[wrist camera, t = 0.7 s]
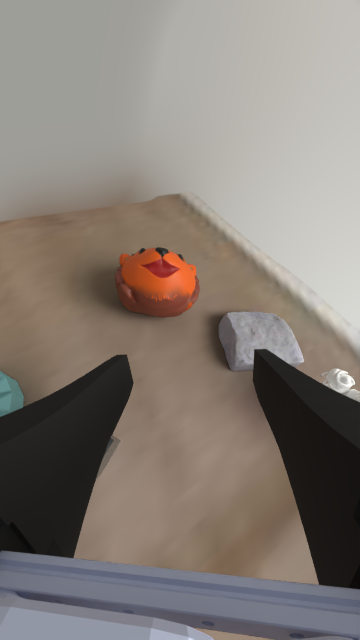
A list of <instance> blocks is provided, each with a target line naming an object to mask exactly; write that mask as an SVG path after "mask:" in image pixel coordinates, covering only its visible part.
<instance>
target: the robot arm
mask: <svg viewBox="0 0 360 640" xmlns="http://www.w3.org/2000/svg"><path fill="white" fill-rule="evenodd" d="M253 382H254V386H255V390H256V393H257V396H258V399H259V402H260V404H261V406H262V409H263V411H264V413H265V416H266V418H267V420H268V423H269V425H270V427H271V430H272V432H273V434H274V437H275V439H276V442H277V444H278V447H279V449H280V452H281V455H282V459H283V462H284V465H285V468H286V471H287V474H288V477H289V481H290V484H291V487H292V490H293V493H294V497H295V500H296V503H297V507H298V510H299V514H300V517H301V521H302V524H303V527H304V531H305V534H306V538H307V542H308V545H309V549H310V552H311V556H312V560H313V563H314V567H315V571H316V574H317V578H318V582H319V585H315V584H305V583H296V582H287V581H278V580H268V579H259V578H250V577H241V576H232V575H222V574H213V573H204V572H195V571H186V570H176V569H167V568H158V567H149V566H140V565H130V564H121V563H112V562H103V561H94V560H84V559H75V558H73V557H74V553H75V549H76V546H77V542H78V538H79V535H80V531H81V527H82V524H83V520H84V516H85V513H86V510H87V506H88V503H89V500H90V496H91V493H92V490H93V487H94V484H95V481H96V477H97V474H98V471H99V468H100V465H101V462H102V460H103V457H104V454H105V451H106V448H107V446H108V443H109V441H110V438H111V436H112V434H113V432H114V430H115V427H116V425H117V423H118V421H119V419H120V417H121V415H122V412H123V410H124V408H125V406H126V404H127V401H128V399H129V396H130V393H131V390H132V386H133V379H132V375H131V370H130V366H129V362H128V358H127V355H116V356H114V357H112V358H111V359H109V360H107V361H106V362H104V363H103V364H101V365H100V366H98V367H96V368H95V369H93V370H92V371H90V372H89V373H87V374H86V375H84V376H82V377H81V378H79V379H77V380H76V381H74V382H72V383H71V384H69V385H67V386H66V387H64V388H62V389H60V390H58V391H56V392H55V393H53V394H51V395H49V396H47V397H45V398H43V399H41V400H38V401H36V402H34V403H32V404H29V405H27V406H25V407H23V408H21V409H18V410H16V411H13V412H11V413H8V414H6V415H3V416H1V417H0V640H214V639H213V638H212V637H211V636H209V635H207V634H205V633H202V632H200V631H198V630H196V629H194V628H201V629H208V630H215V631H222V632H229V633H235V634H242V635H249V636H256V637H263V638H269V639H276V640H360V402H358V401H356V400H354V399H352V398H349V397H347V396H345V395H343V394H341V393H339V392H337V391H335V390H333V389H331V388H329V387H327V386H325V385H323V384H321V383H319V382H318V381H316V380H314V379H312V378H311V377H309V376H307V375H306V374H304V373H302V372H301V371H299V370H297V369H296V368H294V367H293V366H291V365H290V364H288V363H287V362H285V361H284V360H282V359H281V358H279V357H278V356H276V355H275V354H274V353H272V352H271V351H269V350H267V349H254V366H253ZM192 627H194V628H192Z"/></svg>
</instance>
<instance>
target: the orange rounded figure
mask: <svg viewBox="0 0 360 640" xmlns="http://www.w3.org/2000/svg"><path fill="white" fill-rule="evenodd" d="M120 265H121V266H120V267H119V268H118V269H117V272H116V273H115V282H116V288H117V292H118V296H119V299H120V301H121V302H122V304H123V305H124V306H125V307H126V308H127V309H128V310H130V311H133V312H137V313H143V314H146V315H150V316H156V317H173V316H178V315H180V314H182V313H183V312H184V311H186V310H188V309H189V308H190V307H191V306H192V305H193V304H194V303H195V301H196V300H197V298H198V293H199V291H200V287H199V284H198V283H199V280H198V278H197V276H196V267H195V266H194V265H190V264H187V263H186V262H185V260H184V258H183V257H182V255H180V254H179V255H178V254H175V253H173V252H171V251H168V250H167V249H165V248H151V249H147V250H146V249H144V248H142V249H141V250H140V251H138V252H137V253H136V254H133V255H132V256H129V255H127V254H121V256H120Z"/></svg>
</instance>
